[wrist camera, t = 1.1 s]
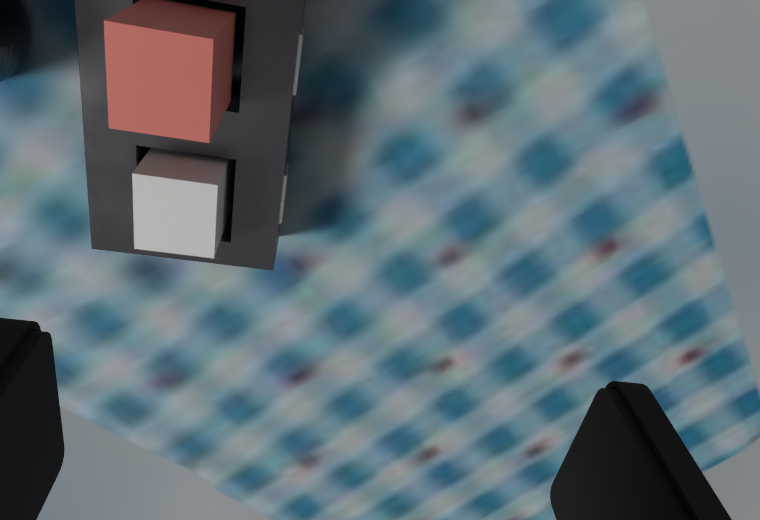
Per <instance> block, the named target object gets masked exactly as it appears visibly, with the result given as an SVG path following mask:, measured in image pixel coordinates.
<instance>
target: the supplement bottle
mask: <svg viewBox="0 0 760 520" xmlns="http://www.w3.org/2000/svg"><path fill="white" fill-rule="evenodd" d="M29 41H30V29H29V22H28V18H27V14H26V11H25V9H24V6H23V4H22V2H21V0H0V82H1V81H3V80H5V79H6V78H8V77H9V76H11V75H12V74H13V73H14V72H15V71H16V70H17V69H18V68H19V67H20V66H21V64H22V63H23V61H24V59H25V57H26V54H27V51H28V48H29Z"/></svg>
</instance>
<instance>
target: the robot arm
mask: <svg viewBox="0 0 760 520" xmlns="http://www.w3.org/2000/svg"><path fill="white" fill-rule="evenodd" d="M63 458H64V440H63V432H62V423H61V415H60V406H59V397H58V389H57V380H56V372H55V363H54V354H53V346H52V338H51V335H50V333H48V332H42V331H41V329H40V326H39V324H38V323H37V322H34V321H25V320H15V319H6V318H0V520H36V519H37V517H38V515H39V513H40V511H41V509H42V507H43V505H44V502H45V501H46V498H47V496H48V494H49V492H50V490H51V488H52V486H53V484H54V482H55V480H56V478H57V475H58V473H59V471H60V469H61V466H62V462H63ZM550 498H551V504H552V508H553V511H554V514H555V517H556V519H557V520H731V518H730V516H729V515H728V513H727V512H726V510H725V508H724V507H723V505H722V504H721V502H720V500H719V499H718V497H717V496H716V494H715V493H714V491H713V489H712V488H711V486H710V485H709V483H708V481H707V480H706V478H705V477H704V475H703V473H702V472H701V470H700V469H699V467H698V465H697V464H696V462H695V461H694V459H693V457H692V456H691V454H690V453H689V451H688V450H687V448H686V446H685V445H684V443H683V442H682V440H681V438H680V437H679V435H678V434H677V432H676V430H675V429H674V427H673V426H672V424H671V422H670V421H669V419H668V418H667V416H666V414H665V413H664V411H663V410H662V408H661V407H660V405H659V403H658V402H657V400H656V399H655V397H654V395H653V394H652V392H651V391H650V389H649V388H648V387H647V386H646V385H644V384H638V383H628V382H618V381H612V382H610V383H609V384H608V385H607V386H606V388H601V389H600V390H598V392H597V393H596V395H595V397H594V399H593V401H592V403H591V405H590V407H589V410H588V412H587V414H586V416H585V418H584V420H583V422H582V424H581V426H580V428H579V430H578V432H577V434H576V436H575V438H574V440H573V442H572V444H571V447H570V449H569V451H568V453H567V455H566V457H565V459H564V461H563V463H562V465H561V467H560V469H559V471H558V473H557V475H556V477H555V479H554V481H553V484H552V486H551V492H550Z"/></svg>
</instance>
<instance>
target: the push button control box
mask: <svg viewBox="0 0 760 520" xmlns="http://www.w3.org/2000/svg"><path fill="white" fill-rule="evenodd" d="M138 1H140V0H75V13H76V28H77V42H78V57H79V71H80V86H81V100H82V115H83V129H84V144H85V158H86V173H87V187H88V202H89V216H90V231H91V245H92V249H99V250H107V251H116V252H124V253H132V254H141V255H149V256H157V257H166V258H174V259H182V260H191V261H199V262H207V263H216V264H224V265H232V266H241V267H249V268H257V269H266V270H273V269H274V263H275V257H276V251H277V245H278V239H279V231H280V224H282V218H283V212H284V205H285V196H286V187H287V178H288V169H289V164H288V163H287V159H288V150H289V141H290V132H291V123H292V114H293V105H294V96H296V93H297V88H298V80H299V72H300V63H301V54H302V45H303V36H304V28H302V24H303V15H304V6H305V0H209V1H214V2H220V3H226V4H231V5H237V6H242V7H246V15H245V30H244V46H243V61H242V76H241V89H236V88H232V90H231V101H230V103H229V105H228V107H227V109H226V111H225V113H224V115H223V117H222V119H221V121H220V123H219V125H218V127H217V129H216V131H215V133H214V135H213V137H212V139H211V141H210V143H205V142H198V141H192V140H185V139H178V138H171V137H165V136H158V135H151V134H144V133H138V132H131V131H124V130H117V129H110V128H109V123H108V102H107V80H106V59H105V38H104V20H105V19H107V18H109V17H111V16H113V15H115V14H116V13H118V12H120V11H122V10H124V9H125V8H127V7H129V6H131V5H133V4H134V3H136V2H138ZM151 147H152V148H159V149H166V150H173V151H179V152H186V153H193V154H200V155H207V156H214V157H221V158H228V159H235V160H236V169H235V184H234V199H233V209H231V210H230V213H229V216H228V219H227V222H226V225H225V228H224V231H223V234H222V237H221V240H220V243H219V246H218V248H217V251H216V254H215V257H214V258H206V257H198V256H190V255H181V254H173V253H165V252H156V251H148V250H140V249H134V222H133V186H132V173H133V172H134V170H135V169H136V167H137V166H138V165H139V163H140V162H141V161H142V159H143V158H144V156H145V155H146V154H147V152H148V151H149V150H150V148H151Z"/></svg>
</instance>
